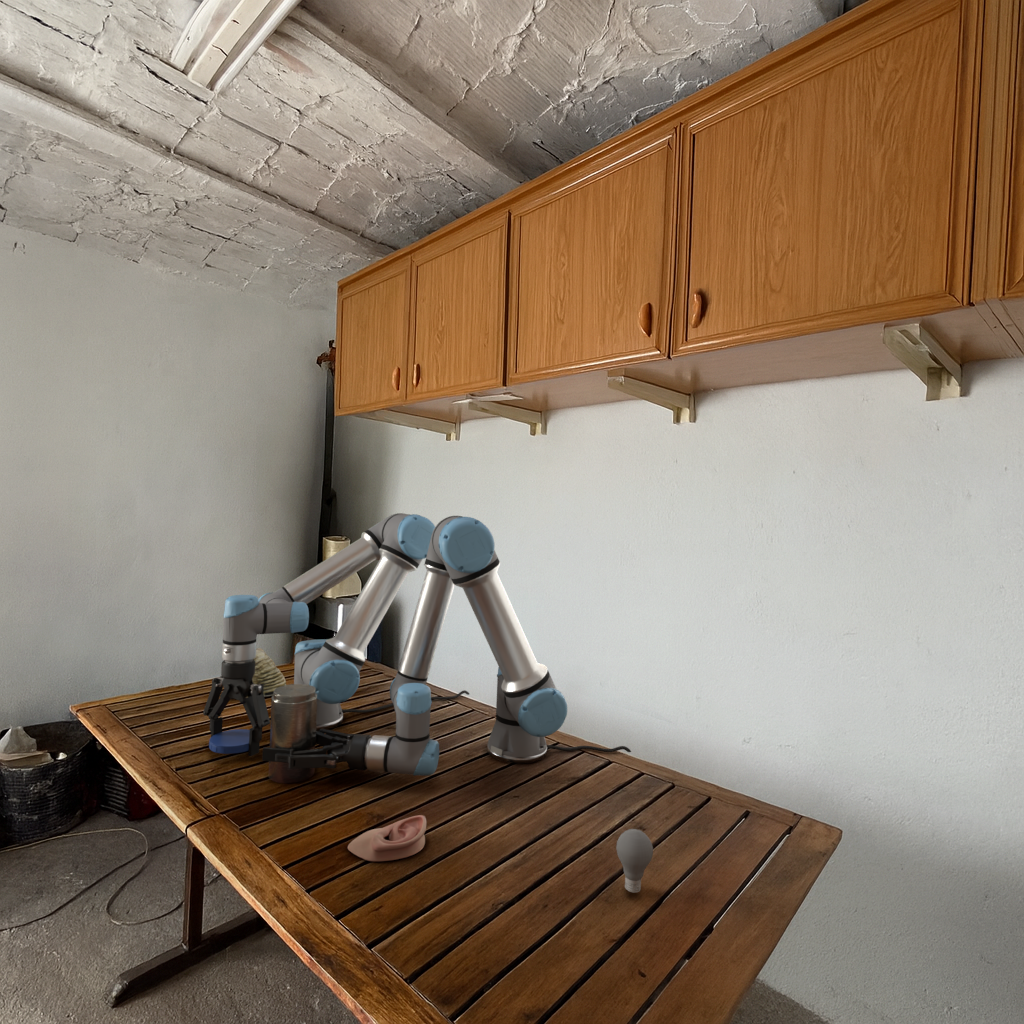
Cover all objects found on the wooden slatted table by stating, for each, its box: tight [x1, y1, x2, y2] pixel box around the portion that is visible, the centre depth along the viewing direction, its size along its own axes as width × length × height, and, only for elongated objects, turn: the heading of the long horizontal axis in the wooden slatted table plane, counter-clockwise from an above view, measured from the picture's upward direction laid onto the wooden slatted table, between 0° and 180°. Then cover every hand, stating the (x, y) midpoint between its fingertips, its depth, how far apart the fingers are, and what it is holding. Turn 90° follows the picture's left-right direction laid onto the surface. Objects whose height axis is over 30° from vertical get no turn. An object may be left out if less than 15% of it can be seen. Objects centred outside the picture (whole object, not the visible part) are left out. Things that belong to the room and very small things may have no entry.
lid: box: [208, 728, 250, 755], centre depth 153 cm, size 11×11×2 cm
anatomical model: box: [347, 814, 427, 862], centre depth 116 cm, size 13×4×12 cm
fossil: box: [246, 647, 287, 698], centre depth 198 cm, size 9×18×15 cm, turn 132°
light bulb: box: [615, 828, 654, 894], centre depth 106 cm, size 6×6×10 cm
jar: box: [268, 683, 317, 784], centre depth 144 cm, size 10×10×19 cm
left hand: (234, 749), depth 153 cm, fingers closed on lid, 11 cm apart
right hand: (274, 744), depth 144 cm, fingers closed on jar, 10 cm apart
